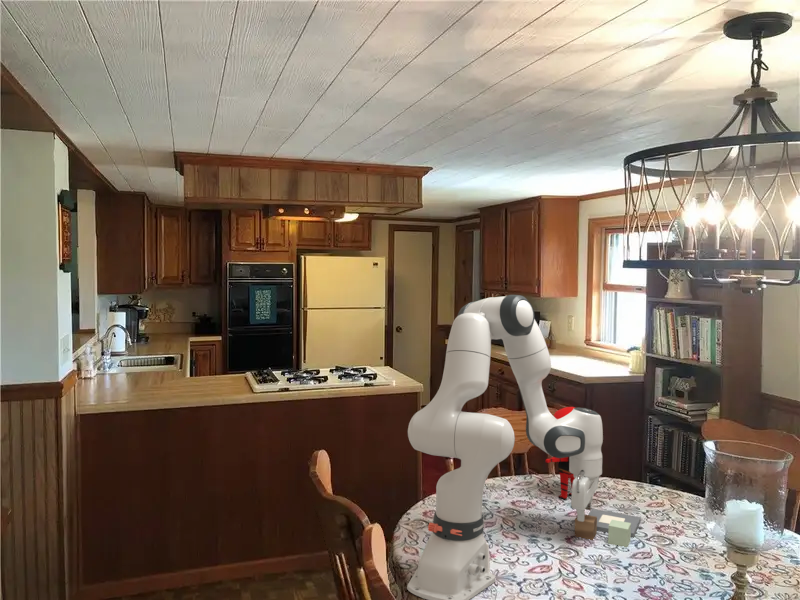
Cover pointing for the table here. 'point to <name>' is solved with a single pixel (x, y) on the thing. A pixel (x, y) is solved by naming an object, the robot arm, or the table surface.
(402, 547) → the table surface
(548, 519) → the table surface
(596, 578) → the table surface
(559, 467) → the toy
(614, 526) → the sage block
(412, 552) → the table surface
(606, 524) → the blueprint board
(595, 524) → the walnut block
